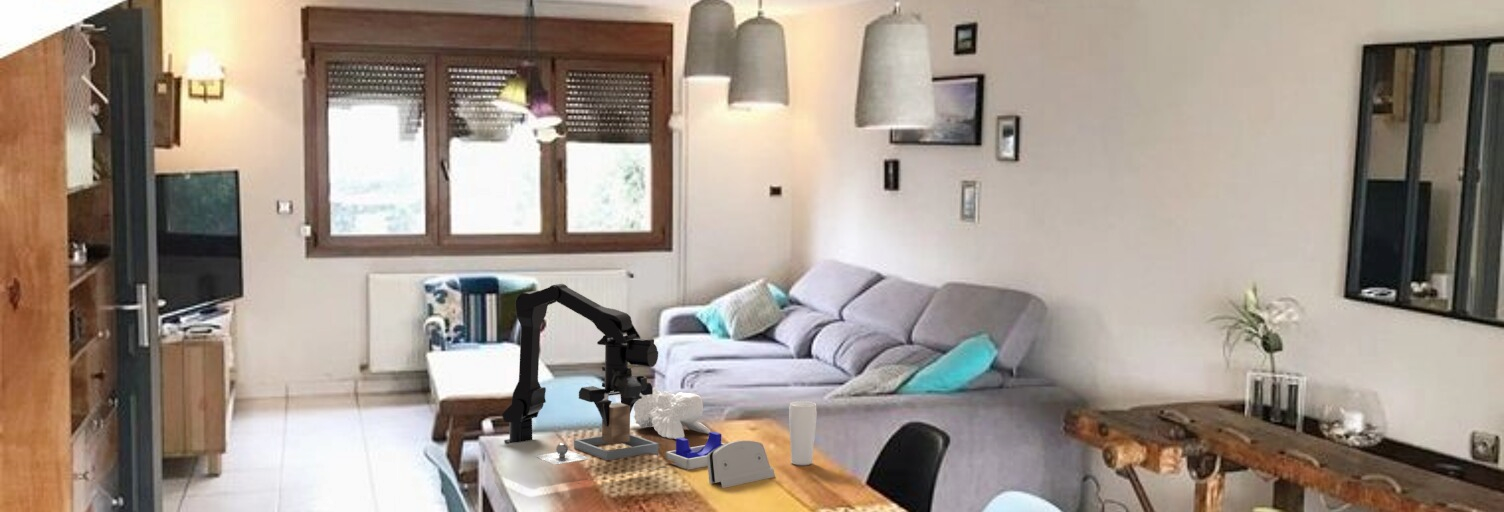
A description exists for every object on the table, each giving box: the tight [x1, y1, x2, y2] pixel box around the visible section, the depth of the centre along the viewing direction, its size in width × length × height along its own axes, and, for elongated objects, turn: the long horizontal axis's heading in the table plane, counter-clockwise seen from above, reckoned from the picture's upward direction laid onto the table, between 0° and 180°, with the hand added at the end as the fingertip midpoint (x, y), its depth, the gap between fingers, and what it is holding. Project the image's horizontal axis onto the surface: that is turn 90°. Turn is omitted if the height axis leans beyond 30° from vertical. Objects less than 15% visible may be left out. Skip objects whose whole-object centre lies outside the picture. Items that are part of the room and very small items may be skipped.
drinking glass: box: [788, 400, 818, 467], centre depth 318 cm, size 7×7×15 cm
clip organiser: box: [665, 442, 725, 471], centre depth 319 cm, size 9×17×2 cm, turn 129°
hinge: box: [707, 440, 776, 489], centre depth 303 cm, size 17×5×10 cm, turn 131°
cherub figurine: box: [633, 387, 712, 440], centre depth 349 cm, size 13×12×20 cm
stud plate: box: [533, 442, 591, 465], centre depth 314 cm, size 10×10×5 cm
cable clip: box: [675, 431, 722, 459], centre depth 320 cm, size 12×4×6 cm, turn 131°
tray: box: [573, 433, 659, 461], centre depth 323 cm, size 15×15×4 cm
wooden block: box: [601, 402, 631, 445], centre depth 322 cm, size 5×5×9 cm
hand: (615, 424), depth 322 cm, fingers closed on wooden block, 5 cm apart
